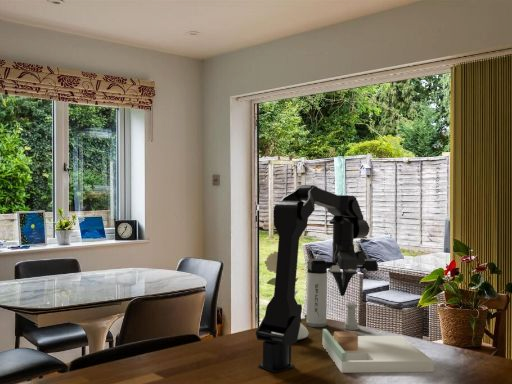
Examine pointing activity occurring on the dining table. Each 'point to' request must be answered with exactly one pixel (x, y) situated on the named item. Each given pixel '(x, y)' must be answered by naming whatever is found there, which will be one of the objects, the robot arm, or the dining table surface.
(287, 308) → the robot arm
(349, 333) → the block
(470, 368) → the dining table surface
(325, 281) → the travel mug
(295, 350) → the dining table surface
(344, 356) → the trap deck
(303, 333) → the flower in vase
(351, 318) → the rook chess piece
